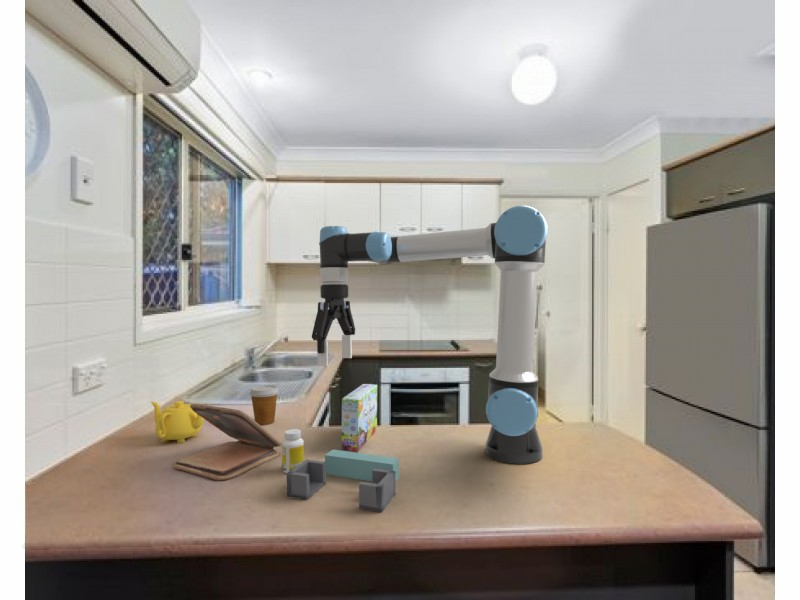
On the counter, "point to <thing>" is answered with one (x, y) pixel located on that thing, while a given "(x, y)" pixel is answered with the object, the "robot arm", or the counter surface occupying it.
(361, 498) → the end cap near
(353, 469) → the teal rectangular bar
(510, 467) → the counter surface
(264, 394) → the disposable coffee cup
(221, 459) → the case
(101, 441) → the counter surface
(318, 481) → the end cap far
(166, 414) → the teapot
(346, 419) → the snack box
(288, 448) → the supplement bottle
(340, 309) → the robot arm
